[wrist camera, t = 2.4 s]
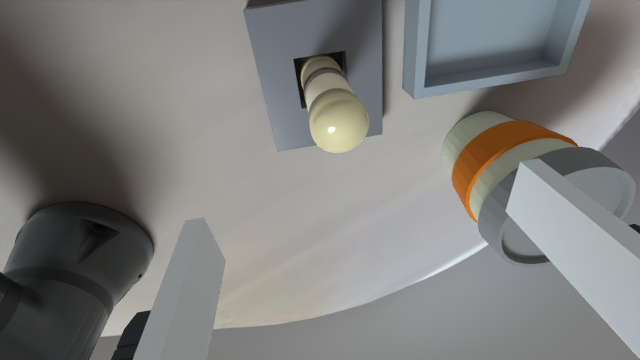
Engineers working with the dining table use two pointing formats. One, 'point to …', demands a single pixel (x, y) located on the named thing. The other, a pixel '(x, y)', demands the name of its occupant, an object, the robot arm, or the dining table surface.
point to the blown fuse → (332, 105)
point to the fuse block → (308, 40)
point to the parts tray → (486, 42)
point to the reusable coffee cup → (501, 168)
